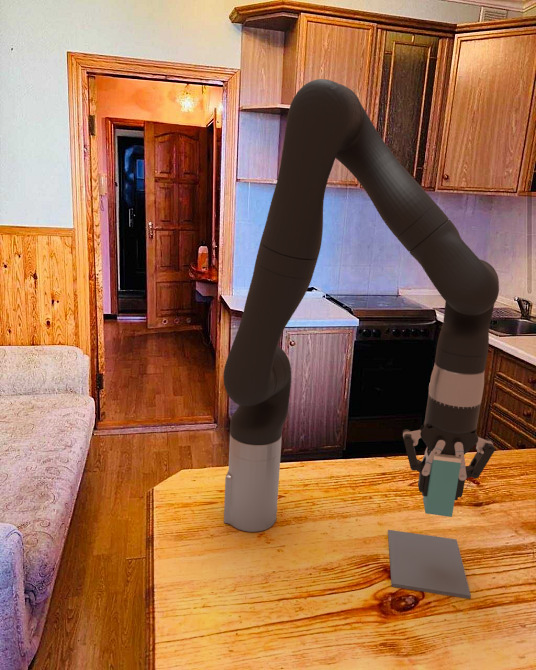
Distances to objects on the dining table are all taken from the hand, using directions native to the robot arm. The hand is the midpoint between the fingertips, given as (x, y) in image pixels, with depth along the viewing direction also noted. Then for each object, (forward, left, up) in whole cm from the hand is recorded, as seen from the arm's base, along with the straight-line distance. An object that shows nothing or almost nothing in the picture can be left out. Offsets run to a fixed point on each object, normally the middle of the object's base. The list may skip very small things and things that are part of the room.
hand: (439, 495), depth 89 cm
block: (0, 0, -2) cm, 2 cm away
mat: (0, +2, -14) cm, 14 cm away
